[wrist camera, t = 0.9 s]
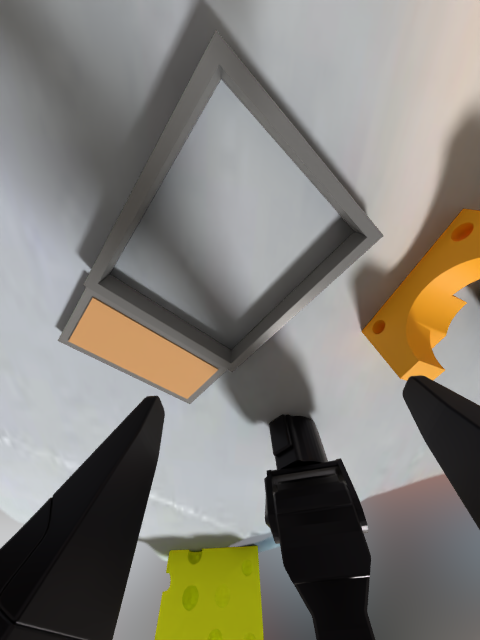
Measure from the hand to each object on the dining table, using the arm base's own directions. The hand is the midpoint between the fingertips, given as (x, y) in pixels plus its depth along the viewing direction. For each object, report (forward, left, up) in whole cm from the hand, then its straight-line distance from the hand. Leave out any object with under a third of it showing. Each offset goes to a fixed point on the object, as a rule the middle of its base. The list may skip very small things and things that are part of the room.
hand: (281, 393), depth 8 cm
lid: (+3, +13, -13) cm, 18 cm away
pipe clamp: (-13, -9, -13) cm, 20 cm away
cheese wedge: (-42, +65, -13) cm, 79 cm away
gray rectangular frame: (+3, 0, -13) cm, 13 cm away
